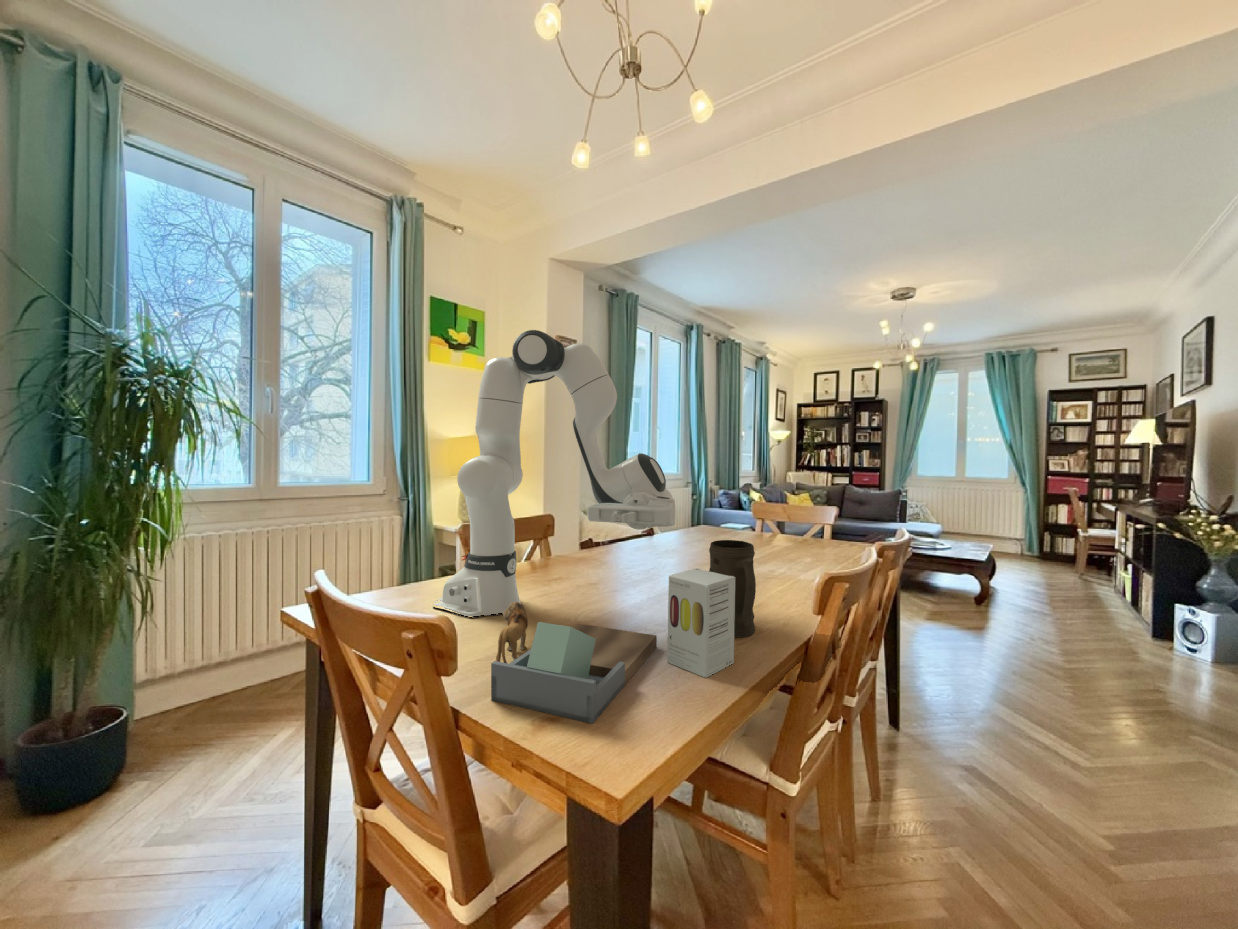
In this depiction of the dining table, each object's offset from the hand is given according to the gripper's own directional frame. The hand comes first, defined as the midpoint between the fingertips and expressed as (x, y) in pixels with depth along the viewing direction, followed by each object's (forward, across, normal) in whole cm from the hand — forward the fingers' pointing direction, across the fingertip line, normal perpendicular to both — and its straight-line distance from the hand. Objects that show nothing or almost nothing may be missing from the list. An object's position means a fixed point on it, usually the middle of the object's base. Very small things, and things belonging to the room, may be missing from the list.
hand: (617, 518), depth 106 cm
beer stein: (-13, +23, +26) cm, 37 cm away
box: (+27, +1, +25) cm, 37 cm away
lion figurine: (+17, -16, +26) cm, 35 cm away
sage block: (+21, +1, +21) cm, 30 cm away
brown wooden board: (+11, +1, +26) cm, 28 cm away
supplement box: (+6, +19, +26) cm, 33 cm away
